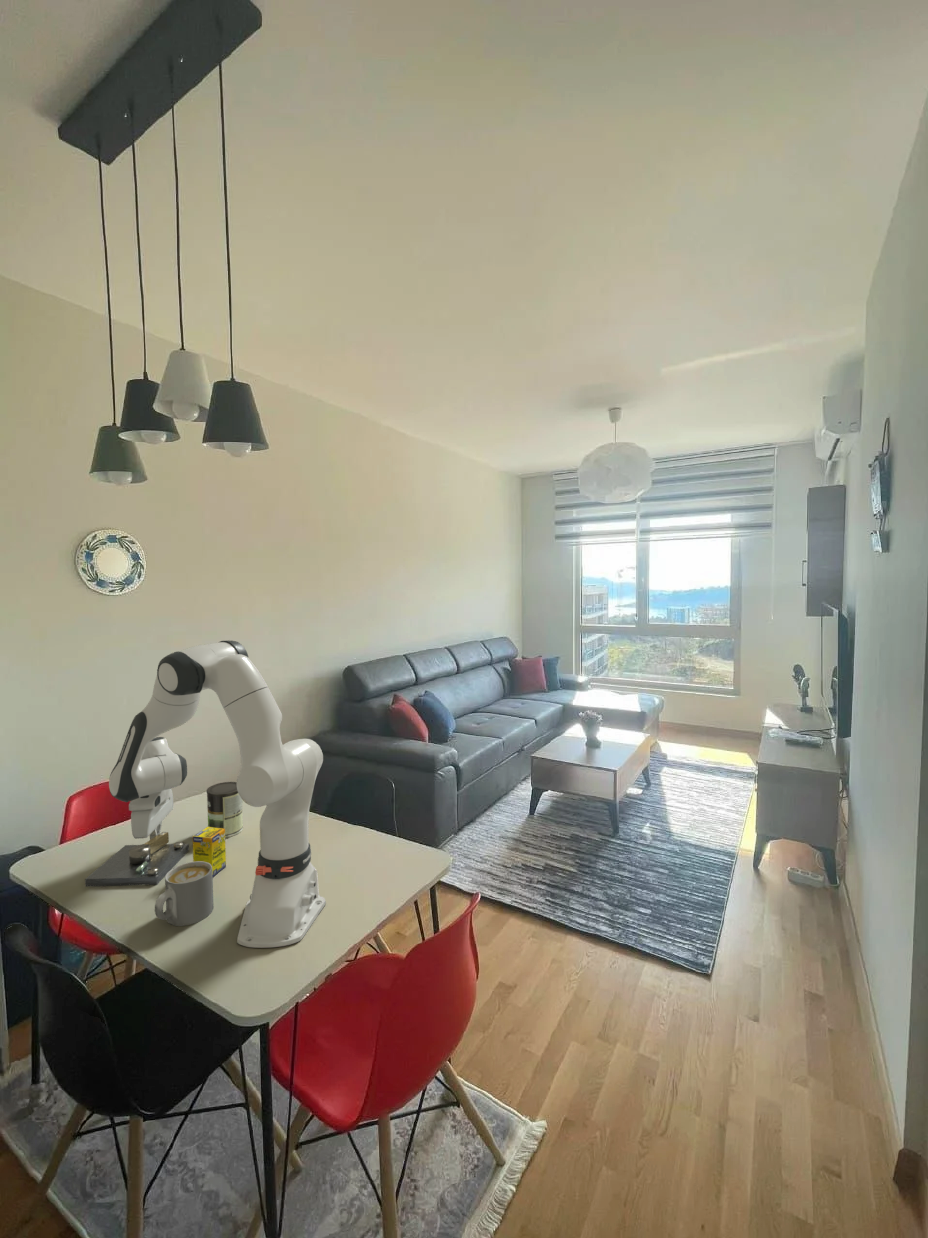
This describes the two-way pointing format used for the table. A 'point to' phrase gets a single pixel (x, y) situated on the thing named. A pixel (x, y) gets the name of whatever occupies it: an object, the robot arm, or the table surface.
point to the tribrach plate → (137, 867)
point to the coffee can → (225, 808)
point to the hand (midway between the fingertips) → (155, 839)
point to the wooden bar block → (147, 848)
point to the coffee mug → (187, 894)
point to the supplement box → (210, 848)
